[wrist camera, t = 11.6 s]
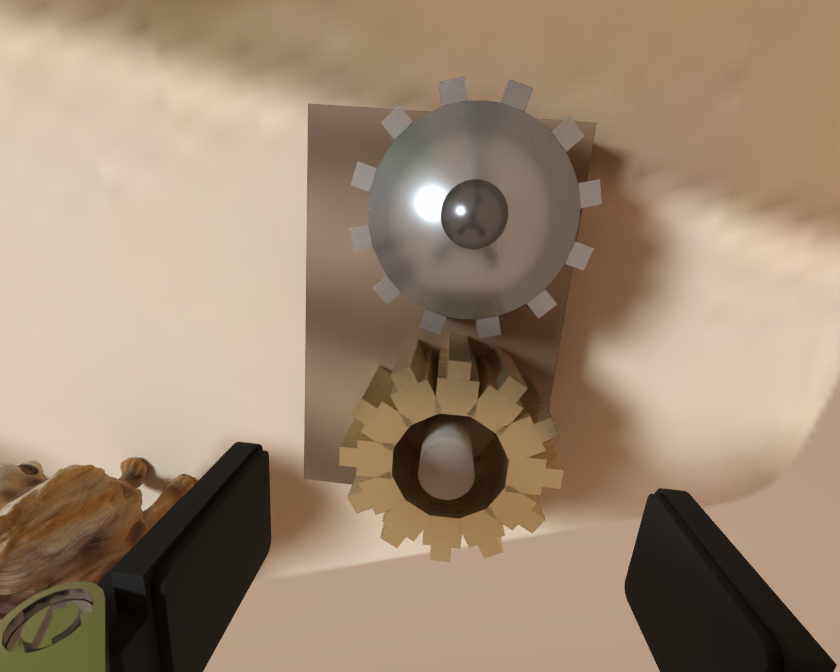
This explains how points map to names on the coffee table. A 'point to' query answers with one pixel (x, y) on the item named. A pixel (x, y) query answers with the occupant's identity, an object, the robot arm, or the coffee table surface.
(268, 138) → the coffee table surface
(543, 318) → the gear board
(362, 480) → the brass gear
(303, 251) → the coffee table surface
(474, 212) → the grey gear
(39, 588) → the lion figurine
